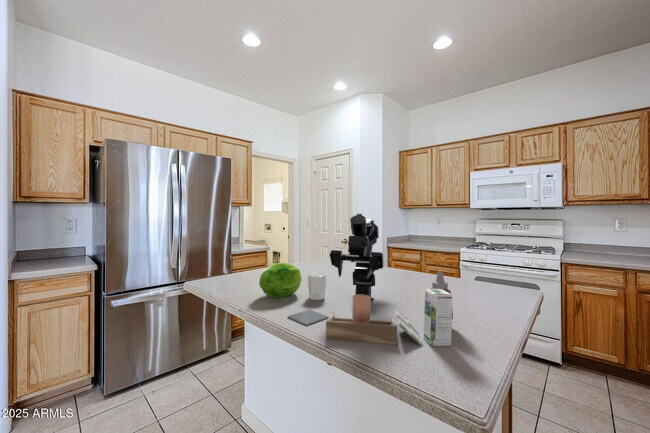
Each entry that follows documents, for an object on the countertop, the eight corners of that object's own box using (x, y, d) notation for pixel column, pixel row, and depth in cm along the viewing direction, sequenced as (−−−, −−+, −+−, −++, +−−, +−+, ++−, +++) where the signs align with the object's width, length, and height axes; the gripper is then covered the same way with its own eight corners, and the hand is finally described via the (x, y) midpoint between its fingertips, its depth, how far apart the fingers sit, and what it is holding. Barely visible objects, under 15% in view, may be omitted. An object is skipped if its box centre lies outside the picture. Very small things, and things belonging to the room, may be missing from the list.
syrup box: (422, 337, 83) (423, 288, 83) (442, 337, 84) (443, 288, 84) (431, 347, 78) (432, 294, 77) (452, 346, 78) (453, 293, 78)
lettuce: (281, 285, 138) (308, 293, 131) (248, 297, 118) (278, 308, 111) (284, 255, 137) (312, 263, 130) (251, 262, 117) (282, 271, 110)
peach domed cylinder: (360, 327, 90) (360, 293, 90) (373, 333, 86) (374, 297, 86) (348, 332, 87) (349, 296, 87) (361, 338, 83) (362, 300, 83)
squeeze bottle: (440, 333, 86) (441, 274, 86) (420, 324, 93) (421, 269, 93) (458, 329, 90) (459, 272, 90) (438, 320, 97) (438, 267, 97)
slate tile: (309, 310, 105) (309, 309, 105) (328, 317, 98) (328, 316, 98) (287, 317, 98) (287, 316, 98) (306, 325, 91) (306, 324, 91)
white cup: (324, 301, 117) (324, 277, 117) (305, 300, 118) (305, 276, 118) (327, 295, 125) (327, 273, 125) (310, 294, 126) (310, 272, 126)
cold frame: (332, 321, 96) (332, 304, 96) (415, 327, 92) (415, 309, 92) (325, 339, 82) (326, 320, 82) (423, 347, 78) (423, 327, 78)
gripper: (332, 228, 105) (322, 258, 93) (383, 229, 100) (379, 261, 88) (336, 250, 111) (327, 281, 99) (384, 252, 106) (381, 285, 94)
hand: (352, 277), depth 95 cm, fingers open, 9 cm apart
